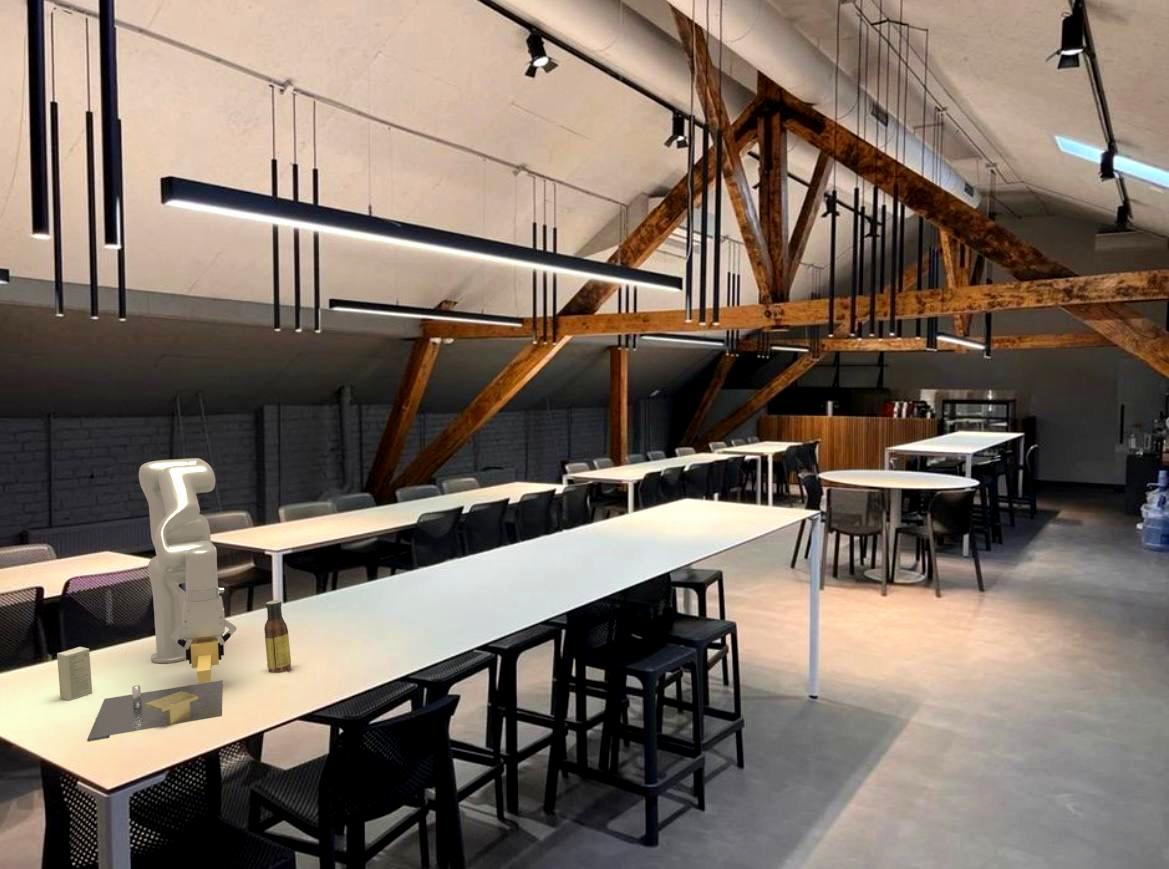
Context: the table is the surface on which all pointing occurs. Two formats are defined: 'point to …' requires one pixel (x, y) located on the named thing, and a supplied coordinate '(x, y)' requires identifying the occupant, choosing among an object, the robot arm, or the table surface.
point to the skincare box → (74, 673)
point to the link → (204, 657)
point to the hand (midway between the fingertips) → (205, 659)
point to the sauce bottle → (276, 639)
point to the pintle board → (150, 717)
